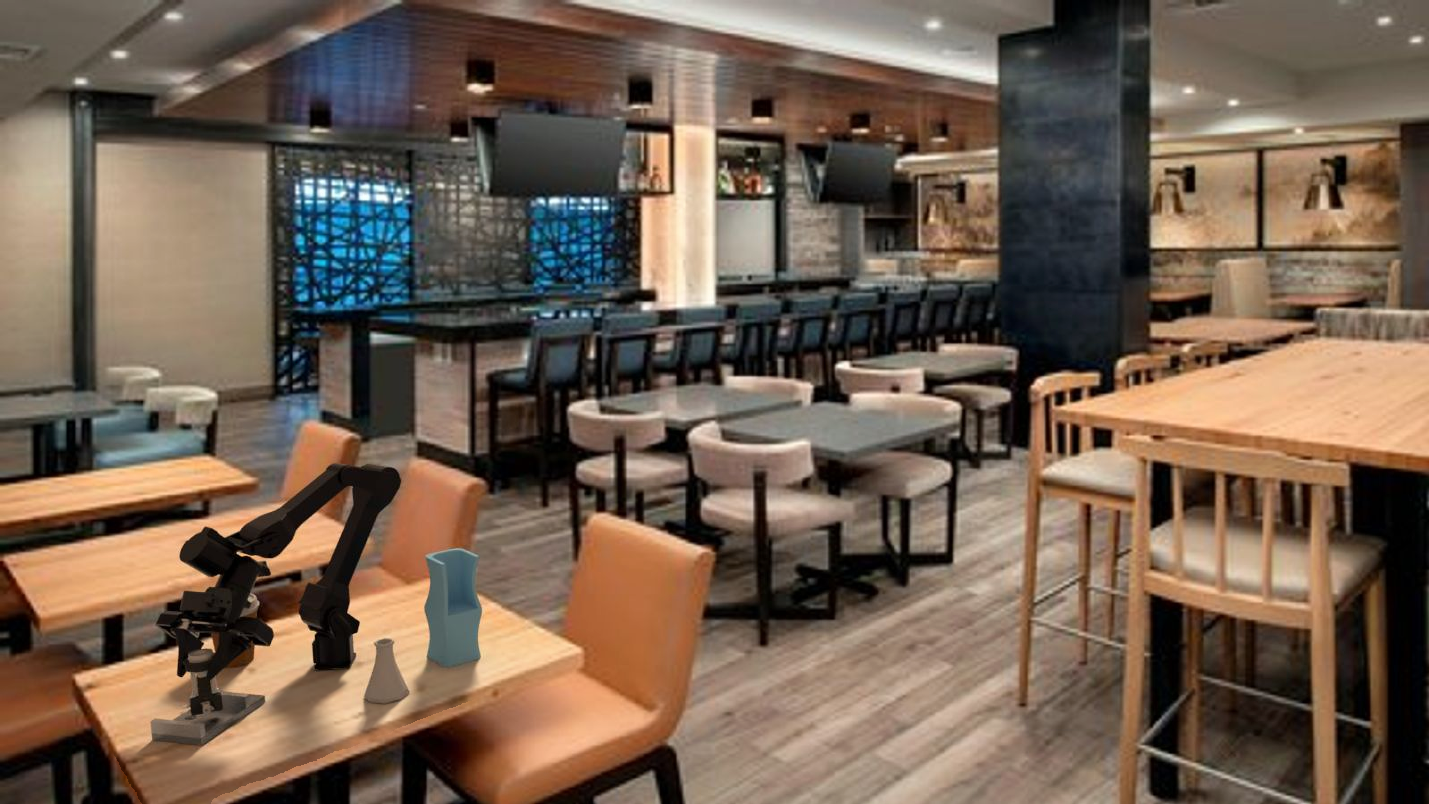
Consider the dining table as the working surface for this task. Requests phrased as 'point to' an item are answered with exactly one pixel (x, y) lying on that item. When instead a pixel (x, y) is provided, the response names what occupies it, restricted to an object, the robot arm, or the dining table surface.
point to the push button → (202, 684)
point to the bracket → (206, 720)
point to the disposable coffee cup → (249, 654)
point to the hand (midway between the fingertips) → (193, 677)
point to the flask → (385, 675)
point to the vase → (453, 607)
